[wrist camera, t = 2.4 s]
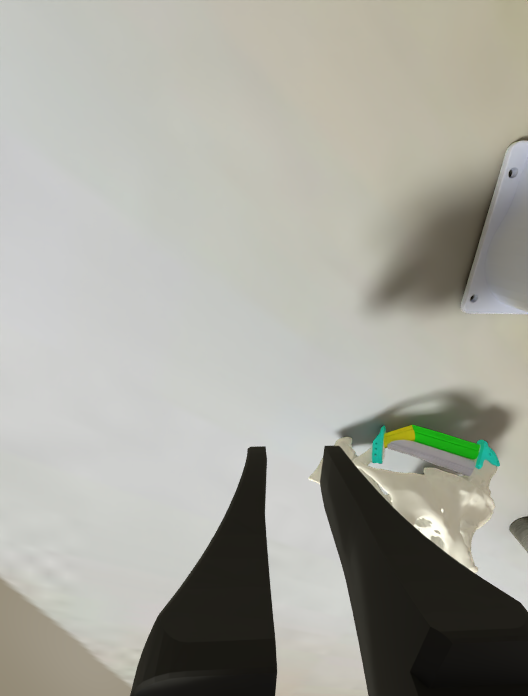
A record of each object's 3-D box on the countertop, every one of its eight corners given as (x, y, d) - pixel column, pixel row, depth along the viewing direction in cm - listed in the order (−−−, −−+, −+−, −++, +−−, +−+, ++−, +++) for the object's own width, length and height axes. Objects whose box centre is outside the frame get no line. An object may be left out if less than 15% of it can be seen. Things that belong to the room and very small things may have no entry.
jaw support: (522, 507, 24) (497, 643, 19) (410, 475, 31) (370, 567, 26) (486, 395, 19) (442, 532, 14) (365, 387, 26) (307, 477, 21)
